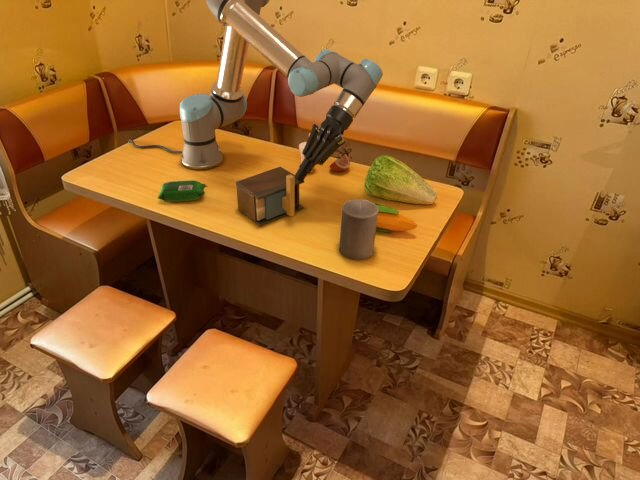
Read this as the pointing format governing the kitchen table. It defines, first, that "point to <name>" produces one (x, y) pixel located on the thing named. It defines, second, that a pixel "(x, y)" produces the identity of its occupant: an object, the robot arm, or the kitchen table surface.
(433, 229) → the kitchen table surface
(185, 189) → the snack package
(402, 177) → the lettuce
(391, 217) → the corn
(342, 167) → the fruit slice
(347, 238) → the pillar candle
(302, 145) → the smoothie
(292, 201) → the sliding door
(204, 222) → the kitchen table surface
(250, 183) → the box
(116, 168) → the kitchen table surface
